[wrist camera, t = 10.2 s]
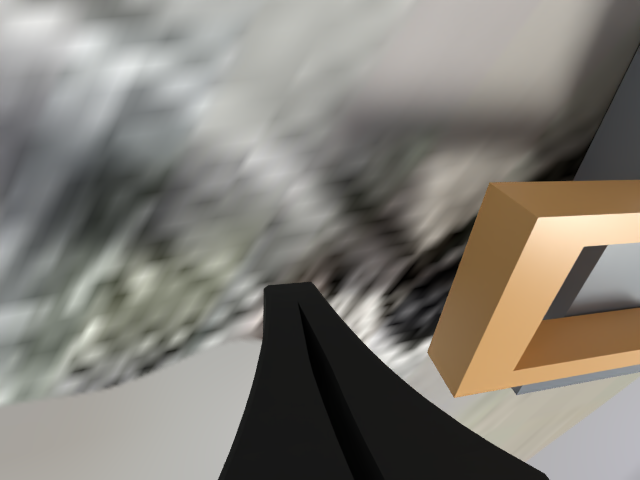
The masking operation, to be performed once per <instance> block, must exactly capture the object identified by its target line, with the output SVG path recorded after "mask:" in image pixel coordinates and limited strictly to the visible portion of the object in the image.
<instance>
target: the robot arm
mask: <svg viewBox="0 0 640 480" xmlns="http://www.w3.org/2000/svg"><path fill="white" fill-rule="evenodd" d="M218 480H549V478H548V477H547V476H546V475H545V474H544V473H542V472H541V471H539V470H537V469H536V468H534V467H532V466H530V465H528V464H527V463H525V462H523V461H521V460H520V459H518V458H516V457H514V456H513V455H511V454H509V453H507V452H506V451H504V450H502V449H500V448H498V447H497V446H495V445H493V444H492V443H490V442H489V441H487V440H485V439H484V438H482V437H481V436H479V435H478V434H476V433H474V432H473V431H471V430H470V429H468V428H467V427H465V426H464V425H462V424H461V423H459V422H458V421H456V420H455V419H454V418H452V417H451V416H449V415H448V414H447V413H445V412H444V411H442V410H441V409H440V408H438V407H437V406H435V405H434V404H433V403H431V402H430V401H428V400H427V399H426V398H424V397H423V396H422V395H421V394H419V393H418V392H417V391H416V390H414V389H413V388H412V387H411V386H409V385H408V384H407V383H406V382H405V381H404V380H402V379H401V378H400V377H399V376H398V375H397V374H395V373H394V372H393V371H392V370H391V369H390V368H389V367H388V366H387V365H385V364H384V363H383V362H382V361H381V360H380V359H379V358H378V357H377V356H376V355H375V354H374V353H373V352H372V351H371V350H370V349H369V348H368V347H367V346H366V345H365V344H364V343H363V342H362V341H361V340H360V339H359V338H358V337H357V335H356V334H355V333H354V332H353V331H352V330H351V329H350V328H349V327H348V326H347V324H346V323H345V322H344V321H343V320H342V319H341V318H340V316H339V315H338V314H337V313H336V312H335V310H334V309H333V308H332V307H331V306H330V304H329V303H328V302H327V301H326V299H325V298H324V297H323V296H322V294H321V293H320V292H319V290H318V289H317V288H316V286H315V285H314V284H313V283H312V282H303V283H291V284H279V285H268V286H267V287H266V288H265V289H264V313H263V340H262V346H261V351H260V355H259V360H258V364H257V369H256V373H255V377H254V380H253V384H252V388H251V391H250V394H249V398H248V401H247V404H246V407H245V411H244V414H243V417H242V419H241V422H240V425H239V428H238V431H237V434H236V436H235V439H234V442H233V444H232V447H231V449H230V452H229V455H228V457H227V459H226V462H225V464H224V467H223V469H222V471H221V474H220V476H219V479H218Z"/></svg>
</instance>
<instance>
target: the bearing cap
mask: <svg viewBox="0 0 640 480" xmlns="http://www.w3.org/2000/svg"><path fill="white" fill-rule="evenodd" d="M626 243H640V180H601V181H548V182H495V183H489V185H488V188H487V191H486V194H485V196H484V199H483V202H482V204H481V207H480V210H479V213H478V215H477V218H476V221H475V224H474V226H473V229H472V232H471V235H470V237H469V240H468V243H467V245H466V248H465V251H464V254H463V256H462V259H461V262H460V265H459V267H458V270H457V273H456V276H455V278H454V281H453V284H452V286H451V289H450V292H449V295H448V297H447V300H446V303H445V306H444V308H443V311H442V314H441V316H440V319H439V322H438V325H437V327H436V330H435V333H434V336H433V338H432V341H431V344H430V347H429V349H428V352H427V353H428V355H429V356H430V358H431V360H432V361H433V363H434V365H435V366H436V368H437V370H438V371H439V373H440V375H441V376H442V378H443V380H444V381H445V383H446V385H447V387H448V388H449V390H450V392H451V393H452V395H453V397H454V398H456V397H461V396H467V395H472V394H478V393H483V392H489V391H494V390H500V389H506V388H511V387H517V386H522V385H528V384H533V383H539V382H544V381H550V380H555V379H561V378H566V377H572V376H578V375H583V374H589V373H594V372H600V371H605V370H611V369H616V368H622V367H627V366H633V365H639V364H640V308H632V309H625V310H617V311H610V312H602V313H594V314H587V315H579V316H571V317H564V318H556V319H548V320H542V319H543V318H544V316H545V314H546V312H547V311H548V309H549V307H550V305H551V304H552V302H553V300H554V298H555V297H556V295H557V293H558V291H559V290H560V288H561V286H562V284H563V283H564V281H565V279H566V277H567V275H568V274H569V272H570V270H571V268H572V267H573V265H574V263H575V261H576V260H577V258H578V256H579V254H580V253H581V251H582V249H583V247H586V246H599V245H613V244H626Z"/></svg>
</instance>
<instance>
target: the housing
mask: <svg viewBox="0 0 640 480" xmlns="http://www.w3.org/2000/svg"><path fill="white" fill-rule="evenodd" d="M601 180H640V46H639V48H638V50H637V52H636V54H635V56H634V58H633V60H632V62H631V64H630V66H629V68H628V70H627V72H626V74H625V76H624V78H623V80H622V82H621V84H620V86H619V88H618V90H617V92H616V94H615V97H614V99H613V101H612V103H611V105H610V107H609V109H608V111H607V113H606V115H605V117H604V119H603V121H602V123H601V125H600V127H599V129H598V131H597V133H596V135H595V137H594V139H593V141H592V143H591V145H590V147H589V149H588V151H587V153H586V155H585V157H584V159H583V161H582V163H581V165H580V167H579V169H578V171H577V173H576V176H575V178H574V180H573V181H601ZM632 308H640V243H626V244H613V245H599V246H586V247H583V249H582V251H581V253H580V254H579V256H578V258H577V260H576V261H575V263H574V265H573V267H572V268H571V270H570V272H569V274H568V275H567V277H566V279H565V281H564V283H563V284H562V286H561V288H560V290H559V291H558V293H557V295H556V297H555V298H554V300H553V302H552V304H551V305H550V307H549V309H548V311H547V312H546V314H545V316H544V318H543V319H542V320H548V319H556V318H564V317H571V316H579V315H587V314H594V313H602V312H610V311H617V310H625V309H632ZM637 372H640V364H639V365H633V366H627V367H622V368H616V369H611V370H605V371H600V372H594V373H589V374H583V375H578V376H572V377H566V378H561V379H555V380H550V381H544V382H539V383H533V384H528V385H522V386H517V387H511V388H512V389H513V391H514V392H515V393H516V395H519V394H525V393H530V392H535V391H541V390H546V389H551V388H557V387H562V386H567V385H573V384H578V383H583V382H589V381H594V380H599V379H605V378H610V377H615V376H621V375H626V374H631V373H637Z"/></svg>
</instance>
